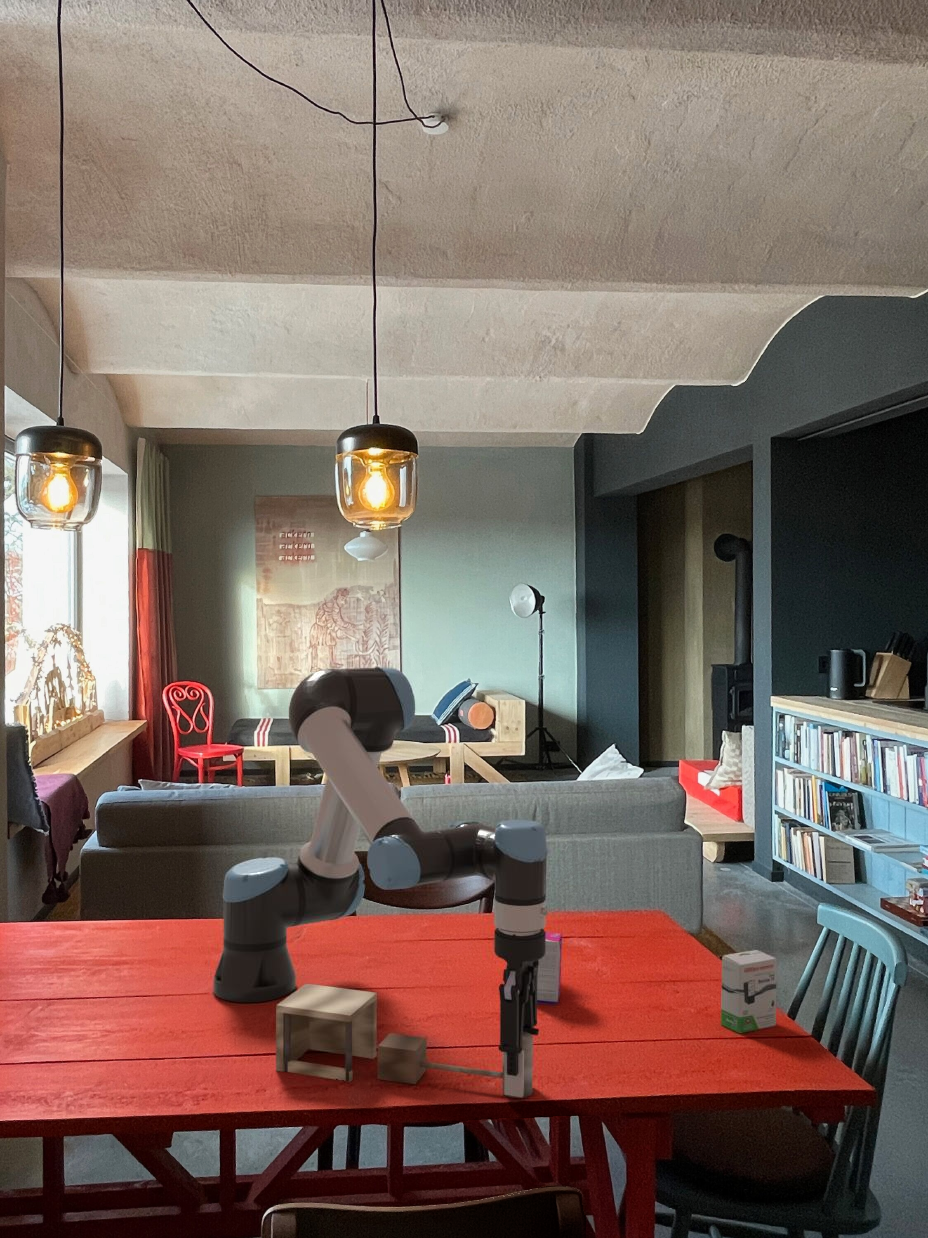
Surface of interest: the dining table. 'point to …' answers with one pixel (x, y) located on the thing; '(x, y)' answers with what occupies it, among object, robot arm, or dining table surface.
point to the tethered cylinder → (408, 1063)
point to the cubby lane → (325, 1028)
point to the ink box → (748, 991)
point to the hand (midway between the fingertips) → (518, 1087)
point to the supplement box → (550, 970)
